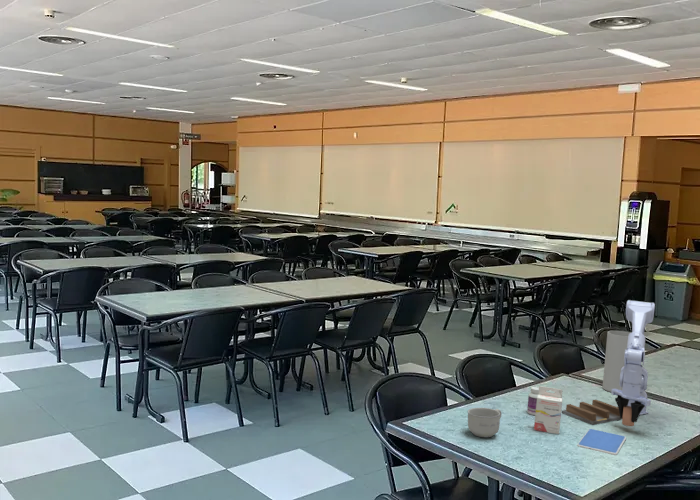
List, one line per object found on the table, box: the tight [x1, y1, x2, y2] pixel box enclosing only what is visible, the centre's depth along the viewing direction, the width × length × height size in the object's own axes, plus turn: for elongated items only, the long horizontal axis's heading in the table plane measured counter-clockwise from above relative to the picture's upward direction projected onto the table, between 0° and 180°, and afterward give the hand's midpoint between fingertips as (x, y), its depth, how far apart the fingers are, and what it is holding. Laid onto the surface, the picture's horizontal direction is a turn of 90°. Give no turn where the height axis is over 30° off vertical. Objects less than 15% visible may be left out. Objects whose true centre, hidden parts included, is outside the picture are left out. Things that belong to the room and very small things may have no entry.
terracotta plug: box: [621, 406, 635, 427], centre depth 238 cm, size 4×4×6 cm
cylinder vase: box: [602, 330, 632, 393], centre depth 289 cm, size 12×12×25 cm
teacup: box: [467, 407, 502, 438], centre depth 226 cm, size 14×11×8 cm
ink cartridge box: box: [533, 385, 563, 435], centre depth 233 cm, size 9×5×15 cm, turn 71°
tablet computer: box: [576, 428, 627, 456], centre depth 225 cm, size 19×13×1 cm, turn 149°
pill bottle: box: [526, 386, 539, 416], centre depth 251 cm, size 5×5×10 cm
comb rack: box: [561, 399, 622, 426], centre depth 253 cm, size 19×14×4 cm
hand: (628, 419), depth 238 cm, fingers closed on terracotta plug, 4 cm apart
